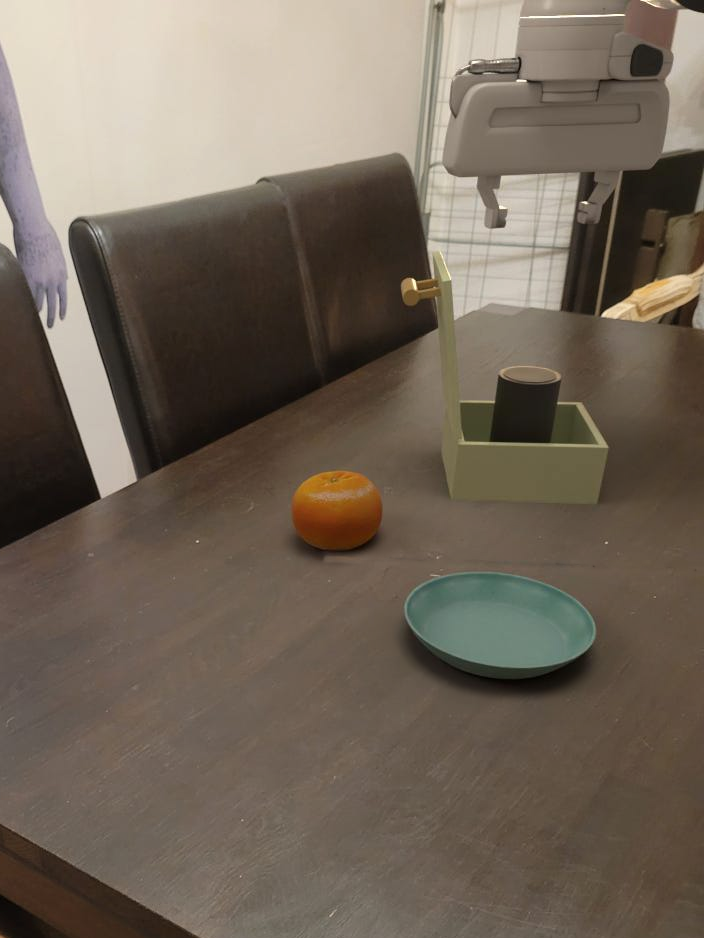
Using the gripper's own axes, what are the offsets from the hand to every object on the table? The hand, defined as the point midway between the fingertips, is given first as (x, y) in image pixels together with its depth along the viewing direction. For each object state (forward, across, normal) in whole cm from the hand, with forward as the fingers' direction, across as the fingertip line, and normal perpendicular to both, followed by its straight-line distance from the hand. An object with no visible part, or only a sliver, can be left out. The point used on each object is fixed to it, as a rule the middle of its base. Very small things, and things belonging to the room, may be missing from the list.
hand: (541, 225), depth 92 cm
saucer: (+26, -14, -32) cm, 44 cm away
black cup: (+25, 0, -2) cm, 25 cm away
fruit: (+26, -22, -12) cm, 36 cm away
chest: (+26, 0, -2) cm, 26 cm away
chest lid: (+11, -8, 0) cm, 13 cm away
